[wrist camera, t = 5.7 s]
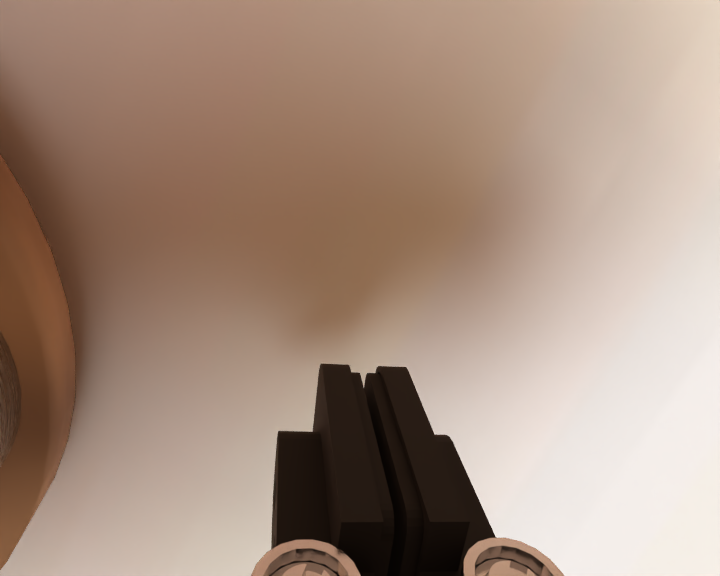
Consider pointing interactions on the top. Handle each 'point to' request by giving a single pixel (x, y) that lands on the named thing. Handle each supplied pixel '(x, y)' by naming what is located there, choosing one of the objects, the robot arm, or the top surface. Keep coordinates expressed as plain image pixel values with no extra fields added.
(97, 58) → the top surface
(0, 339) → the cover
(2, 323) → the turntable
